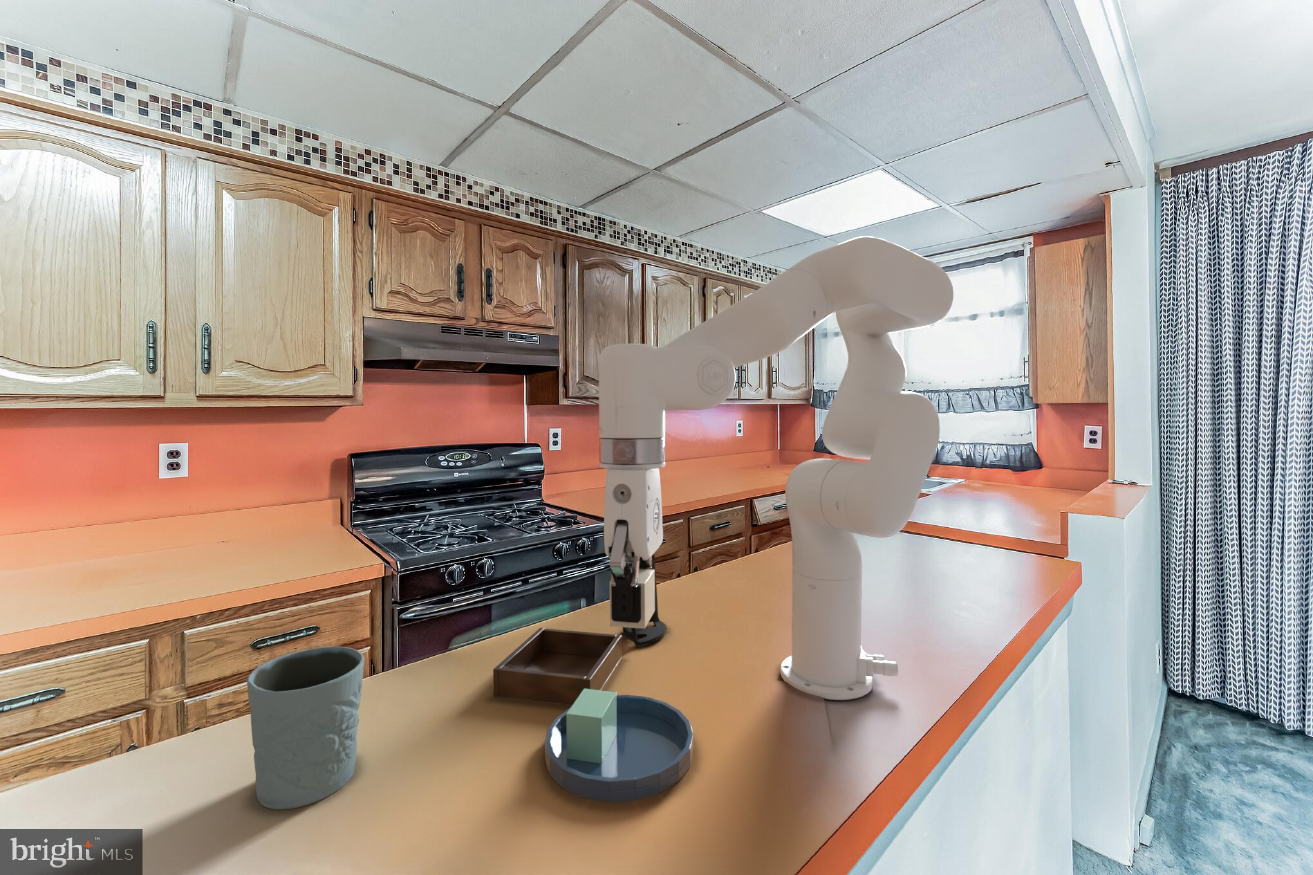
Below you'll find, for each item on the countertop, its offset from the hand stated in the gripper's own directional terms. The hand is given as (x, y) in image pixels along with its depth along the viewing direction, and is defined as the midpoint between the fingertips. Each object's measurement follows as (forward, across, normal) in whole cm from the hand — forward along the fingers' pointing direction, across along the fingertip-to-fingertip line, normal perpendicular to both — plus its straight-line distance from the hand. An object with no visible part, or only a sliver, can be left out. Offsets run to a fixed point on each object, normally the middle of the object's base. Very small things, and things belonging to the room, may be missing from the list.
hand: (633, 609), depth 62 cm
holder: (+16, +30, +6) cm, 35 cm away
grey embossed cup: (+16, -13, +31) cm, 37 cm away
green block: (+15, -3, +4) cm, 16 cm away
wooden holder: (+15, +12, +14) cm, 24 cm away
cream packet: (+1, 0, 0) cm, 1 cm away
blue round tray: (+15, -3, +1) cm, 16 cm away
